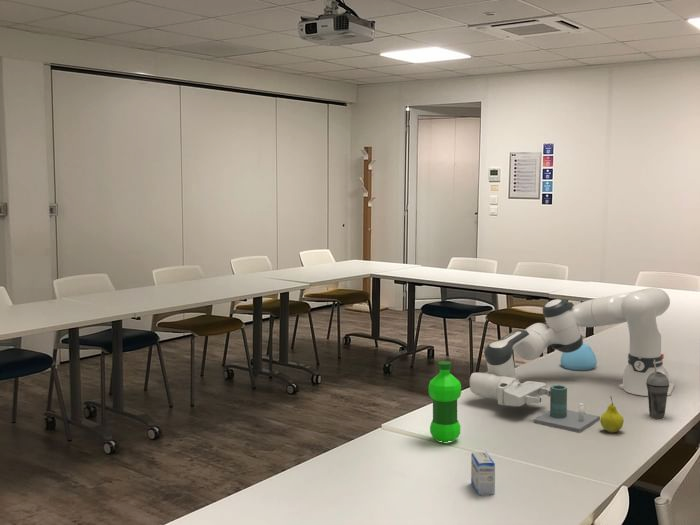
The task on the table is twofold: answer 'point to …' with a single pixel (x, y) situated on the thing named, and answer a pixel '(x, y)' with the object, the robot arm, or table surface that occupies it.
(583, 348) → the sugar bowl
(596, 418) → the pin board
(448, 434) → the plastic bottle
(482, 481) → the medicine box
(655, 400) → the beverage cup
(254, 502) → the table surface
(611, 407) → the fruit
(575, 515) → the table surface
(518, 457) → the table surface
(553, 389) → the sleeve
